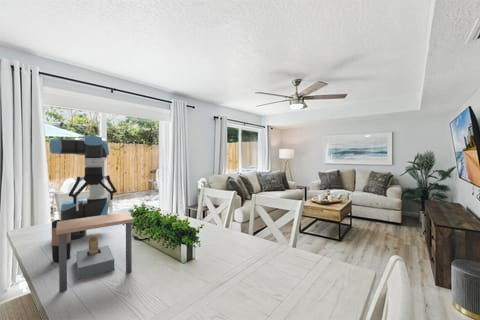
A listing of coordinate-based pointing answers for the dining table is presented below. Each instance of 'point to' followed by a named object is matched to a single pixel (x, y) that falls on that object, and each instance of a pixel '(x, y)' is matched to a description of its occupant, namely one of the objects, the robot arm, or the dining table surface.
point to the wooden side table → (87, 224)
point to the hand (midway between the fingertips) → (93, 208)
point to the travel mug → (56, 242)
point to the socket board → (94, 262)
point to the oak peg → (93, 244)
